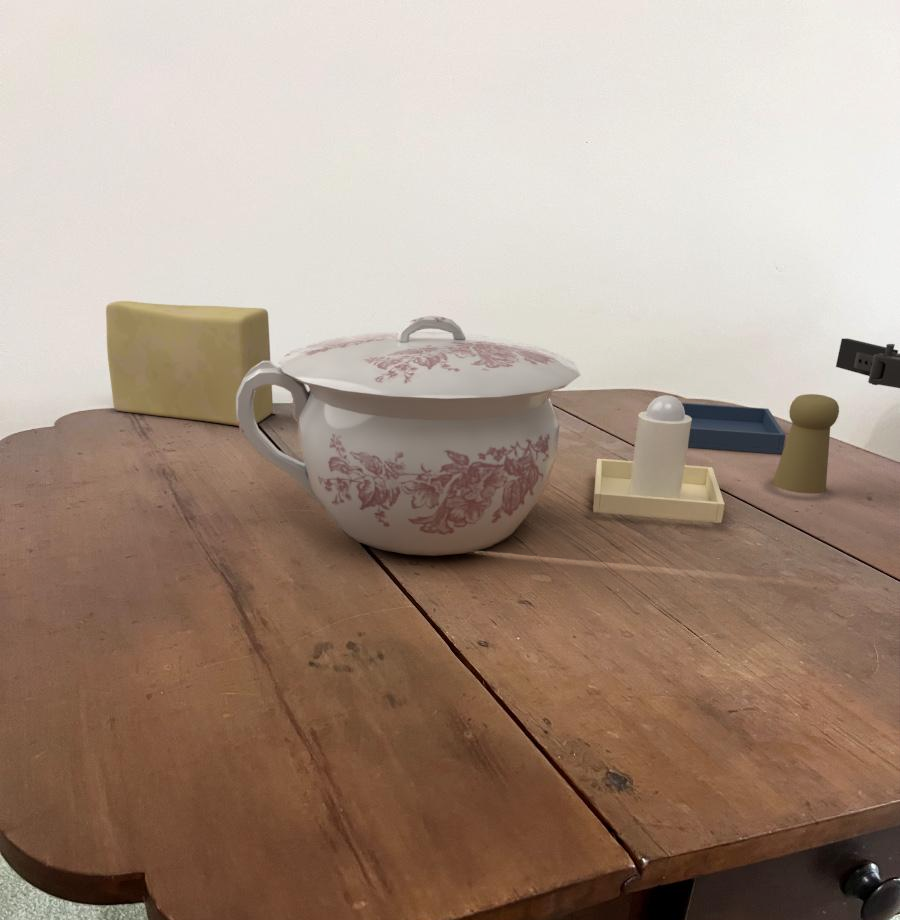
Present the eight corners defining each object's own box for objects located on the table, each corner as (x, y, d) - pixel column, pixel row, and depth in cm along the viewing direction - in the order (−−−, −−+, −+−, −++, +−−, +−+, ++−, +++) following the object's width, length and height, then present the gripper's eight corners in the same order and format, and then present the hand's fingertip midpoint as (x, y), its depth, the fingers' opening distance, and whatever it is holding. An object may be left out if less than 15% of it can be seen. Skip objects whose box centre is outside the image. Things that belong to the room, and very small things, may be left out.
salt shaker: (678, 491, 104) (692, 392, 99) (681, 507, 99) (697, 403, 94) (628, 487, 104) (640, 388, 100) (629, 503, 99) (641, 399, 94)
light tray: (709, 488, 107) (712, 467, 106) (720, 527, 95) (724, 504, 94) (594, 479, 108) (597, 458, 107) (592, 517, 97) (594, 493, 96)
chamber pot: (611, 523, 95) (634, 315, 86) (470, 617, 74) (482, 356, 65) (393, 472, 109) (394, 288, 100) (222, 539, 88) (204, 314, 79)
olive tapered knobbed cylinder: (791, 499, 104) (810, 403, 99) (761, 483, 109) (778, 390, 105) (836, 496, 106) (857, 401, 101) (805, 480, 111) (823, 389, 106)
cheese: (98, 418, 127) (83, 304, 120) (132, 402, 135) (119, 296, 129) (251, 430, 123) (244, 314, 117) (275, 413, 132) (270, 304, 126)
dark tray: (765, 426, 135) (768, 408, 134) (782, 454, 121) (785, 435, 120) (660, 418, 137) (662, 401, 136) (665, 445, 123) (667, 426, 122)
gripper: (963, 452, 71) (786, 393, 89) (1183, 435, 79) (980, 384, 97) (990, 354, 68) (801, 313, 86) (1217, 346, 76) (1001, 310, 94)
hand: (896, 351), depth 92 cm, fingers open, 13 cm apart
